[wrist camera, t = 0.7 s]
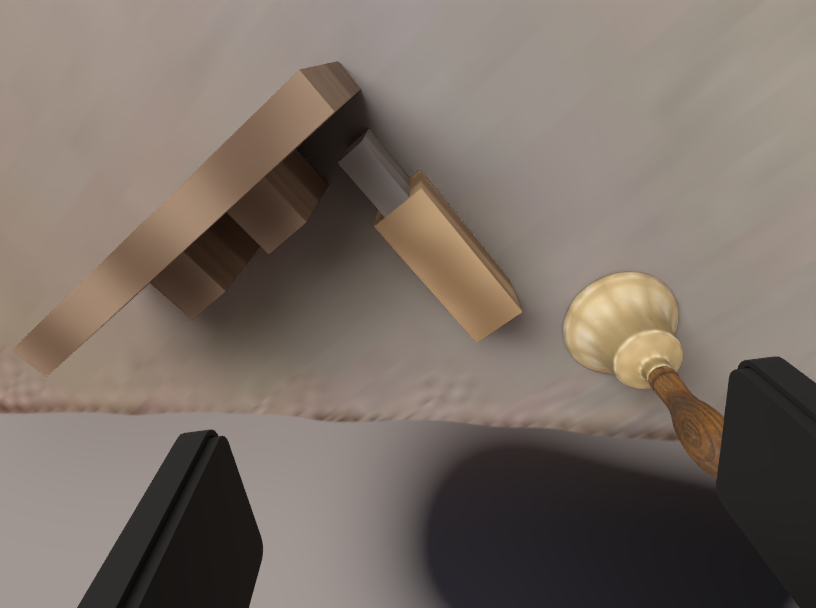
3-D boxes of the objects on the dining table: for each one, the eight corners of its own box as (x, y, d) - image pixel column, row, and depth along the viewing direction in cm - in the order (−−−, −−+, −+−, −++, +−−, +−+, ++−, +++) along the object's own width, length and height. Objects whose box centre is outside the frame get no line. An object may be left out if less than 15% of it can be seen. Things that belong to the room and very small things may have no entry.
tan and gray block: (379, 119, 33) (374, 130, 28) (509, 280, 38) (522, 312, 33) (337, 155, 34) (326, 172, 29) (469, 308, 39) (476, 342, 34)
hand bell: (680, 262, 37) (850, 400, 23) (674, 362, 40) (819, 537, 26) (559, 280, 38) (650, 426, 23) (564, 378, 41) (646, 556, 27)
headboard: (338, 61, 31) (299, 69, 21) (392, 129, 33) (383, 170, 22) (128, 261, 37) (11, 350, 26) (183, 311, 39) (95, 414, 28)
